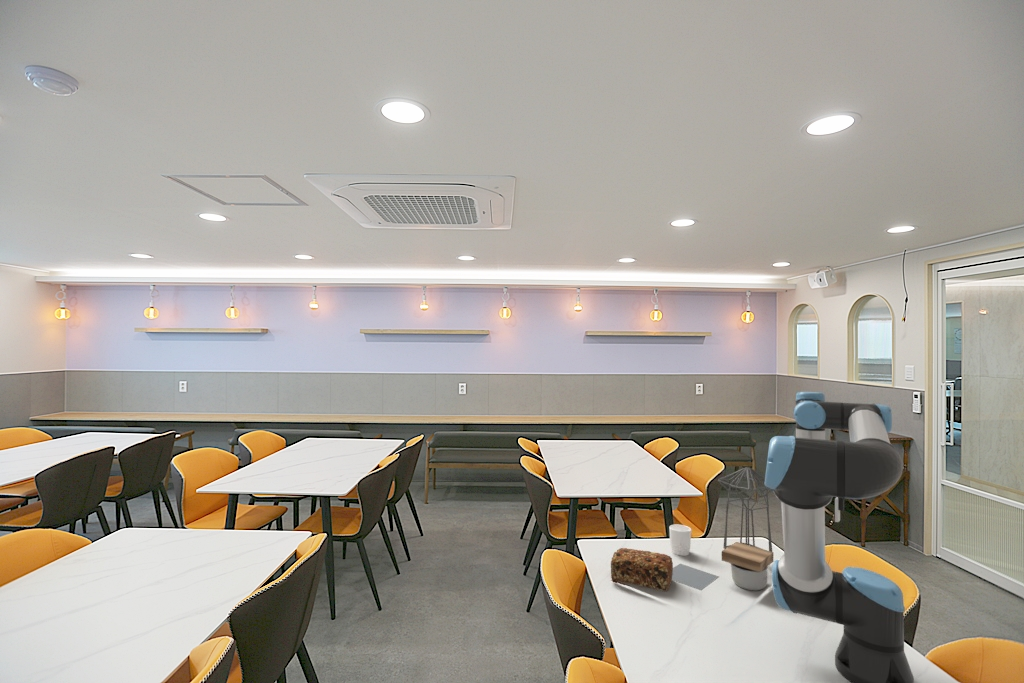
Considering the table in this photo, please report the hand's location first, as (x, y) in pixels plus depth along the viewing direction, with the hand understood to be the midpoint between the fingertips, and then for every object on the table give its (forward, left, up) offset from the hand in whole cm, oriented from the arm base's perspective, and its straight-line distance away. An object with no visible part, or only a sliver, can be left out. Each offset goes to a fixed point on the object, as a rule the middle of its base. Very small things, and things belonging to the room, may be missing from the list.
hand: (810, 515), depth 146 cm
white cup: (+11, +47, -29) cm, 56 cm away
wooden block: (+4, +19, -21) cm, 29 cm away
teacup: (+4, +19, -29) cm, 35 cm away
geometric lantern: (+21, +26, -29) cm, 44 cm away
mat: (-6, +35, -28) cm, 45 cm away
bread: (-20, +45, -29) cm, 57 cm away
